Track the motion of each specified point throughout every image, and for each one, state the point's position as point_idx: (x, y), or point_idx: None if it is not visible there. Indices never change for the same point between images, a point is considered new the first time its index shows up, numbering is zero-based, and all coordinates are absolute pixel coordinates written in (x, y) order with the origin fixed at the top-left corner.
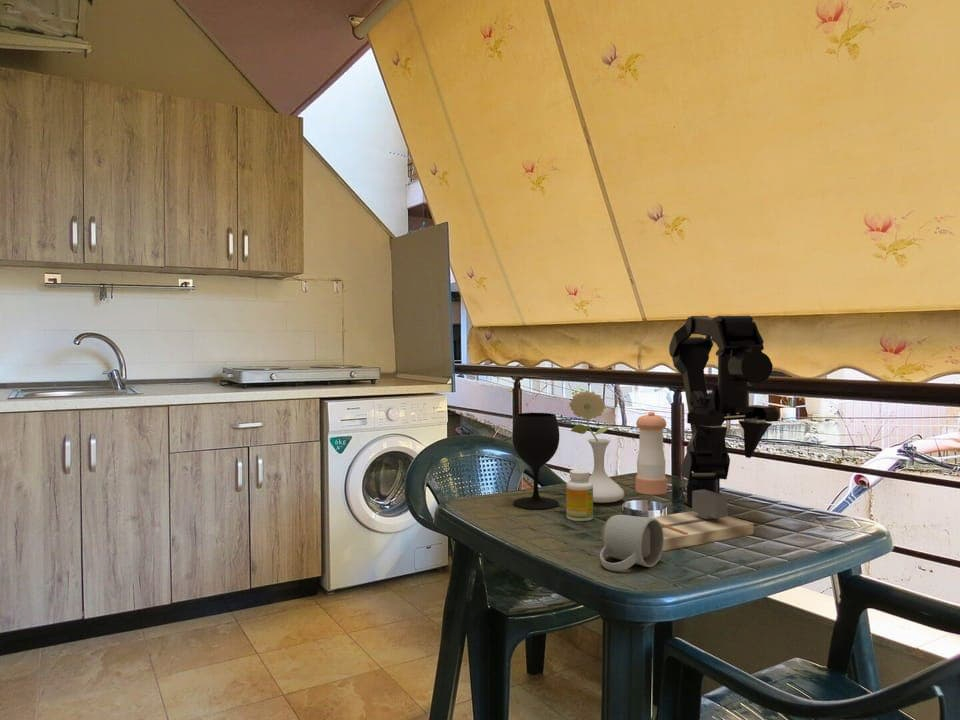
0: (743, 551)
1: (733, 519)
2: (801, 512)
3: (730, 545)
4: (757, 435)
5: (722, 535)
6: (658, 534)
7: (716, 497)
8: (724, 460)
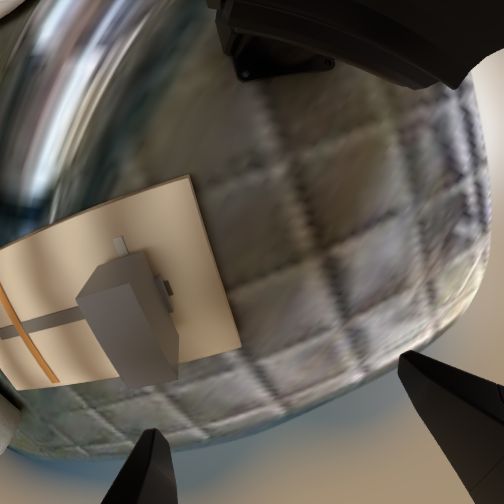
0: (157, 406)
1: (211, 308)
2: (457, 184)
3: None
4: (464, 483)
5: None
6: (8, 427)
7: (132, 388)
8: (409, 79)
